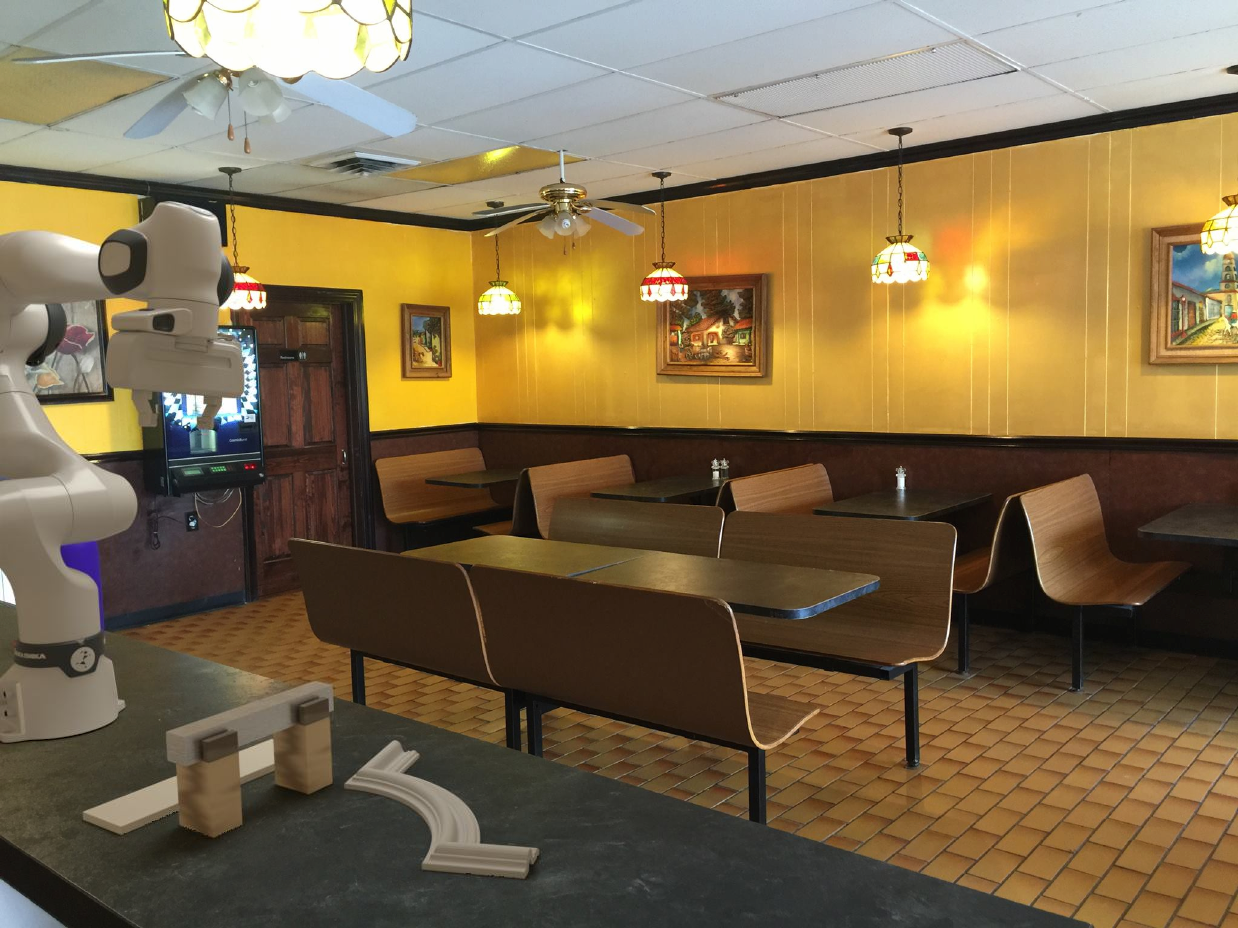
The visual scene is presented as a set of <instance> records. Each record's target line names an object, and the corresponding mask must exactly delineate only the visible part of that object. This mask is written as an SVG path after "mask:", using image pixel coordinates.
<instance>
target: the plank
mask: <svg viewBox="0 0 1238 928" xmlns="http://www.w3.org/2000/svg"><path fill="white" fill-rule="evenodd" d="M238 752H239V767H240V786H241V785H244V784H246V783H248V782H251V781H253V780H256V779H258V778H260V777H264V776H265V775H268V774H270V773H273V772H275V766H274V745H273V738H270V739H267V740H265V741H262V742H260V743H257V744H254V746H253V745H252V746H250V747H248V748H244V749H241V750H238ZM176 811H177V812H179V806H178V788H177V775H175V776H172V777H170V778H166V779H165V780H162V781H159V782H157V783H154V784H152V785H149V786H146V787H144V788H141V789H138V790H136V791H133V792H131V793H129V794H126V795H123V796H120V797H118V798H114V799H113V800H109V801H107V802H105V803H102V804H100V805H97V806H95V807H92V808H89V809H87V810H84V811H82V818H83V821H85V822H88V823H90V824H93V825H96V826H98V827H101V828H103V829H106V830H109V831H110V832H113V833H116V834H118V835H121V836H122V835H125V834H127V833H129V832H131V831H134V830H137V829H139V828H141V827H144V826H146V825H148V823H149V824H150V823H151V824H152V823H153V822H152V821H154V822H155V820H156V821H158V820H161V819H163V818H166V817H167V816H166V815H168V816H170V815H172V813H173V812H175V813H176ZM169 814H170V815H169ZM173 814H174V813H173ZM162 817H163V818H162ZM160 818H161V819H160ZM145 824H146V825H145ZM124 833H125V834H124Z"/></svg>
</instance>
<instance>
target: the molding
mask: <svg viewBox="0 0 1238 928" xmlns="http://www.w3.org/2000/svg"><path fill="white" fill-rule="evenodd" d="M419 759H420V753H418V752H417V751H416V750H413V749H412V750H411V751H410V750H407V751H404V749H403V747H402V744H401V742H400V741H398V740H392V741H391V742H389V744H387V745H386V746H385V747H384V748H383V749H381V751H379V752H378V753H377V754H376V755H375V756H373V758H371V759H370V760H369V761H368V762H367V763H366V764H365V765H363V766H362V767H361V768H360V769H359V770H358V771H357V772H356V773H355V774H354V775H352V777H350V778H349V779H348V780H347V781H346V782H344V783H343V784H344V785H343V788H344V790H354V791H360V792H364V793H365V792H366V793H370V794H376V795H379V796H382V797H386V798H390V799H392V800H394V801H396V802H399V803H401V804H403V805H405V806H407V807H408V808H410V809H412V810H413V811H415V812H416V813H417V814H418V815H419V816H420V817H421V818H422V819H423V820H424V821H425V823H426V824H427V826H428V828H429V831H430V835H431V842H430V847H429V850H428V852H427V854H426V856H425V858H424V860H423V861H422V863H421V870H423V871H424V870H425V871H431V872H432V871H435V872H444V873H445V872H446V873H456V874H466V873H471V874H470V875H479V876H488V875H489V876H490V877H491V875H494V876H493V877H499V876H501V878H513V877H514V878H513V879H522V880H525V879H526V877H527V875H528V873H529V871H530V865H534V863H535V862H536V860H537V859H538V857H539V855H540V849H539V848H537V847H528V846H527V847H526V846H515V845H502V844H501V845H500V844H489V843H481V832H480V831H481V830H480V826H479V822H478V821H477V818H476V815H475V814H474V813H473V811H472V810H471V809H470V807H469V806H468V805H467V804H466V803H465V802H464V801H463V800H462V799H461V798H460V797H458V796H457V795H455V794H454V793H452V792H451V791H449V790H447V789H445V788H443V787H442V786H439V785H438V784H434V783H432V782H430V781H428V780H424V779H422V778H419V777H417V776H416V777H415V776H414V775H413V776H412V775H409V774H406V773H405V772H406V771H407V770H408V769H409V768H410V767H411V766H413V765H414V764H415V762H417V761H418V760H419ZM537 856H538V857H537ZM489 876H488V877H489ZM502 876H504V877H502Z"/></svg>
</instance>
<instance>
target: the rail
mask: <svg viewBox="0 0 1238 928" xmlns="http://www.w3.org/2000/svg"><path fill="white" fill-rule="evenodd" d="M333 687H334V686H333V684H330V683H325V682H321V681H316V680H314V681H311V682H308V683H304V684H302V685H299V686H296V687H293V688H290V689H287V690H284V691H281V692H279V693H275V694H272V695H269V696H267V697H264V698H261V699H257V700H254V701H252V702H249V703H246V704H243V705H240V706H237V707H235V708H231V709H228V710H225V711H222V712H221V713H217V714H214V715H211V716H208V717H205V718H202V719H199V720H197V721H194V722H191V723H187V724H185V725H182V726H179V727H175V728H173V729H170V730H167V731H166V732H165V740H166V758H167V762H170V763H173V764H175V765H176V764H179V765H182V766H185V767H187V766H189V765H192V764H195V763H197V762H200V761H202V760H204V759H203V740H206V739H209V738H211V737H214V736H217V735H220V734H222V733H225V732H228V731H231V730H234V731H237V733H238V748H239V747H242V746H244V745H247V744H249V743H251V742H252V743H253V742H255V741H258V740H260V739H263V738H265V737H268V736H271V735H273V733H276V732H279V731H281V730H284V729H286V728H289V727H292V726H294V725H297V724H300V717H299V706H300V705H302V704H305V703H308V702H311V701H314V700H316V699H319V698H322V697H326V698H329V713H330V712H333V711H335V710H334V709H335V708H334V689H333Z"/></svg>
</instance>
